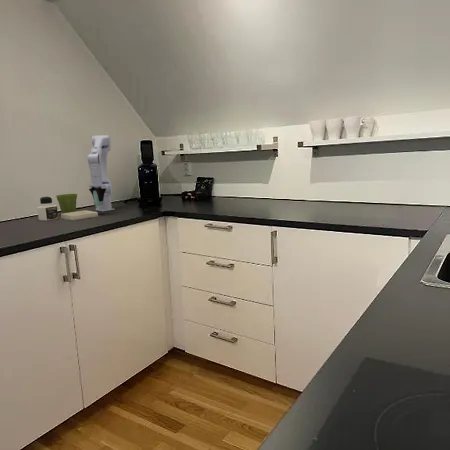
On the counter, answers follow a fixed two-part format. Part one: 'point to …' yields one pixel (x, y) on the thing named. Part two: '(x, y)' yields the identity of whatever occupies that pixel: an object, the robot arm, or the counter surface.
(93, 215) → the cream tray
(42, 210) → the medicine bottle
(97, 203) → the pale teal cylinder
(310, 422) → the counter surface
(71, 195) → the plant pot
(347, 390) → the counter surface
